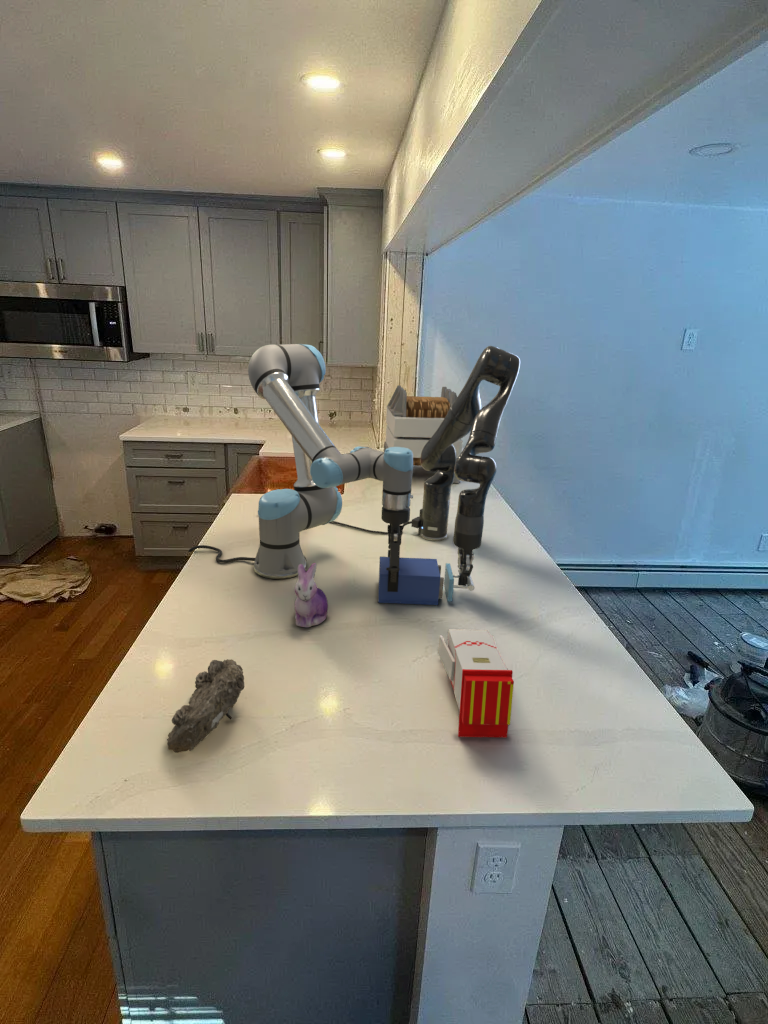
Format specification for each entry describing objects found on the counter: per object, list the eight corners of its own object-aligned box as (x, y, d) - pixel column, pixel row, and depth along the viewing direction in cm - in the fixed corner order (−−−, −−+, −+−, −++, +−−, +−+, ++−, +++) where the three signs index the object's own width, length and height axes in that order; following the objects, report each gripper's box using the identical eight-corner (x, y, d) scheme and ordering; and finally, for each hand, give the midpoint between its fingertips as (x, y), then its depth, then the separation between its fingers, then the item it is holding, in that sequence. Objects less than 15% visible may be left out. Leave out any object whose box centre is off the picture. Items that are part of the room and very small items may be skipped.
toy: (488, 613, 130) (523, 677, 101) (484, 667, 133) (517, 744, 104) (435, 612, 130) (455, 676, 101) (432, 666, 133) (451, 743, 103)
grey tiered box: (382, 463, 289) (386, 382, 275) (445, 464, 293) (451, 384, 279) (390, 482, 257) (394, 392, 243) (460, 483, 261) (468, 394, 247)
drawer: (468, 585, 163) (470, 564, 161) (473, 602, 153) (476, 580, 151) (396, 582, 162) (397, 561, 160) (396, 599, 153) (398, 577, 151)
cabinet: (434, 585, 164) (436, 558, 161) (437, 605, 153) (440, 576, 150) (378, 583, 163) (379, 556, 160) (378, 602, 153) (379, 574, 150)
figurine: (299, 632, 137) (299, 576, 132) (286, 613, 145) (285, 559, 140) (336, 624, 141) (336, 570, 136) (320, 605, 149) (321, 553, 144)
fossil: (192, 660, 117) (244, 628, 112) (224, 691, 120) (276, 661, 115) (142, 746, 98) (202, 712, 93) (182, 779, 101) (242, 748, 96)
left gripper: (412, 523, 138) (407, 602, 146) (408, 493, 161) (404, 563, 168) (381, 521, 138) (378, 601, 145) (382, 492, 160) (378, 562, 168)
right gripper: (486, 538, 145) (478, 598, 151) (478, 520, 158) (472, 576, 163) (457, 537, 145) (450, 597, 151) (452, 519, 158) (446, 575, 163)
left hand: (392, 580), depth 157 cm, fingers closed on cabinet, 11 cm apart
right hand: (461, 586), depth 157 cm, fingers closed
